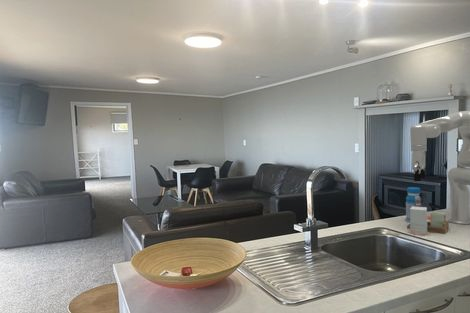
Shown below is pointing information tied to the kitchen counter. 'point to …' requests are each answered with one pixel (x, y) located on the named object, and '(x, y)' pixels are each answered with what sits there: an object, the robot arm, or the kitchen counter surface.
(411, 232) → the coaster
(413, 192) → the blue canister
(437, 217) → the rack
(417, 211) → the supplement box
